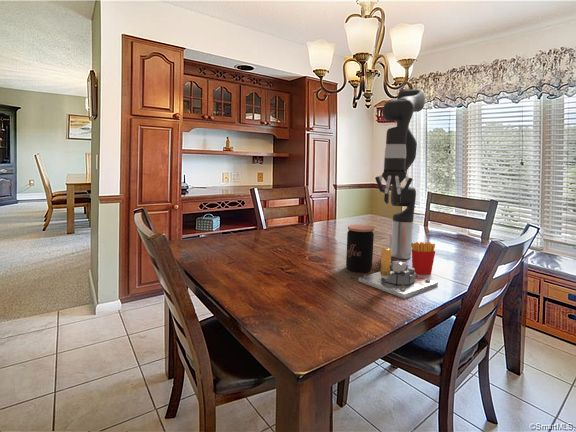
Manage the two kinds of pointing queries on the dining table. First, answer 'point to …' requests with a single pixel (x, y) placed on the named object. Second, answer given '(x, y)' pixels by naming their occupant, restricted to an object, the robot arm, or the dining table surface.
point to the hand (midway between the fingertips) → (392, 203)
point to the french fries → (423, 257)
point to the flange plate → (398, 289)
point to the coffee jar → (359, 248)
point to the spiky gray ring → (389, 275)
